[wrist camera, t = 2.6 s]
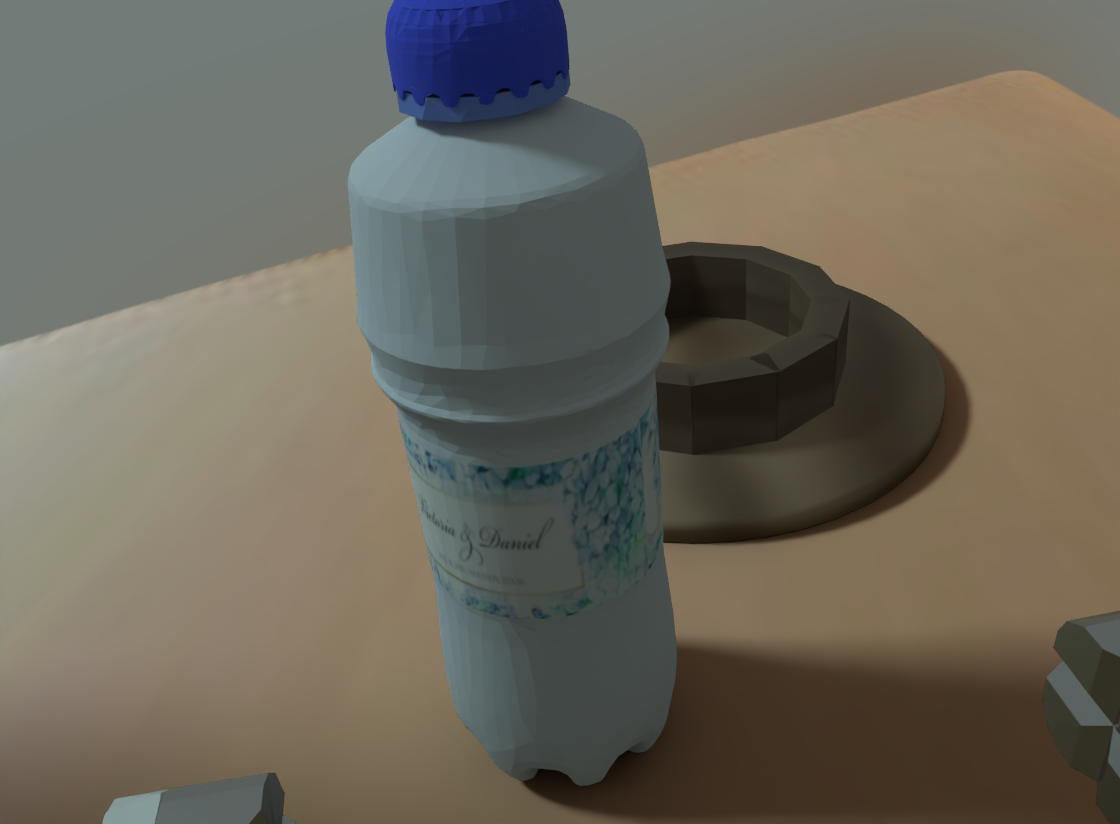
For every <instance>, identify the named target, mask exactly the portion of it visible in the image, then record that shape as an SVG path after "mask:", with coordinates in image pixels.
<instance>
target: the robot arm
mask: <svg viewBox="0 0 1120 824" xmlns="http://www.w3.org/2000/svg"><path fill="white" fill-rule="evenodd" d="M1053 648H1054V649H1055V651H1056V652H1057V653H1058V654H1059V656H1060V657H1061V658H1062V660H1063V661H1062V662H1061V663H1060V664H1059V665H1058V666H1057V667H1056V668H1055V669H1054V670H1053V671H1052V672H1051V673H1050V674H1049V675H1048V676H1047V677H1046V682H1045V687H1044V693H1043V699H1042V702H1043V707H1044V712H1045V718H1046V723H1047V727H1048V729H1049V731H1050V733H1051V735H1052V738H1053V740H1054V742H1055V744H1056V746H1057V748H1058V749H1059V751H1060V752H1061V754H1062V755H1063V757H1064V758H1065V760H1066V761H1067V763H1068V764H1069V766H1070V767H1072V768H1074V769H1075V770H1077V771H1079V772H1081V773H1082V774H1084V775H1086V776H1088V777H1089V778H1091V779H1093V780H1094V781H1096V782H1097V793H1096V805H1097V806H1098V807H1099V809H1100V810H1101V812H1102V813H1103V815H1104V816H1105V817H1106V819H1107V820H1108V822H1109V823H1110V824H1120V611H1115V612H1110V613H1105V614H1100V615H1095V616H1090V617H1085V618H1080V619H1075V620H1070V621H1067V622H1066V623H1065V624H1064V625H1063V626H1062V627H1061V628H1060V629H1059V630H1058V632H1057V636H1056V640H1055V644H1054V647H1053ZM284 794H285V793H284V791H283V789H282V787H281V785H280V782H279V780H278V778H277V776H276V773H265V774H259V775H253V776H247V777H241V778H234V779H228V780H222V781H216V782H210V783H203V784H197V785H191V786H185V787H179V788H172V789H168V790H162V791H156V792H150V793H145V794H139V795H133V796H128V797H122V798H116V799H115V800H114V801H113V803H112V805H111V806H110V808H109V809H108V811H107V813H106V814H105V816H104V819H103V823H102V824H296V822H295V821H293V820H292V819H290V818H288V817H286V816H284V815H283V806H284Z"/></svg>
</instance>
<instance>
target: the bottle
mask: <svg viewBox="0 0 1120 824" xmlns="http://www.w3.org/2000/svg"><path fill="white" fill-rule="evenodd" d="M385 34H386V46H387V47H386V48H387V54H388V60H389V65H390V71H391V77H392V82H393V87H394V91H396V90H397V96H398V104H399V111H400V112H401V113H404V114H407V115H409V116H410V117H409V118H408V119H406V120H405V121H403V122H402V123H400V124H399V125H397V126H396V127H395V128H393V129H392V130H391V131H389V132H388V133H386V134H385V135H383V136H382V137H381V138H379V139H378V140H377V141H375V142H374V143H372V144H371V145H370V146H368V147H367V148H365V149H364V150H363V152H362V153H361V154H360V155H359V156H358V158H357V159H356V160H355V161H354V162H353V164H352V166H351V170H350V173H349V177H348V192H349V203H350V215H351V225H352V226H351V227H352V238H353V250H354V262H355V275H356V289H357V322H358V325H359V327H360V330H361V332H362V333H363V335H364V337H365V339H366V341H367V343H368V344H369V346H370V349H371V351H372V355H371V369H372V372H373V376H374V379H375V381H376V382H377V384H378V385H379V387H380V388H381V390H382V391H383V392H384V393H385V394H386V396H387V397H388V398H389V399H390V400H391V401H392V402H393V403H394V404H395V405H396V407H397V411H398V417H399V422H400V426H401V431H402V435H403V440H404V445H405V449H406V454H407V458H408V463H409V468H410V472H411V477H412V481H413V486H414V491H415V495H416V500H417V504H418V509H419V514H420V518H421V523H422V527H423V532H424V537H425V541H426V546H427V550H428V555H429V559H430V563H431V567H432V571H433V576H434V581H435V586H436V595H437V604H438V614H439V623H440V632H441V641H442V648H443V655H444V661H445V668H446V674H447V679H448V682H449V686H450V690H451V693H452V697H453V700H454V704H455V708H456V710H457V713H458V715H459V717H460V718H461V720H462V722H463V723H464V725H465V726H466V728H467V729H468V730H470V731H471V732H472V733H473V734H474V736H475V737H476V738H477V739H478V740H479V742H480V743H481V744H482V745H483V747H484V748H485V750H486V751H487V753H488V754H489V755H490V757H491V758H492V760H493V761H494V763H495V764H496V765H497V766H498V767H499V768H500V769H501V770H503V771H504V772H505V773H507V774H508V775H509V776H511V777H513V778H516V779H518V780H522V781H525V780H528V779H531V778H533V777H534V776H535V774H536V773H537V771H538V769H549V770H558V771H560V772H562V773H564V774H566V775H568V776H569V777H570V778H571V779H572V781H573V782H574V783H576V784H577V785H579V786H585V785H591V784H594V783H597V782H600V781H601V780H602V779H603V778H604V777H605V776H606V774H607V772H608V770H609V768H610V767H611V766H612V764H613V763H614V762H615V760H616V759H617V757H618V756H619V755H621V754H622V753H624V752H625V751H627V750H630V751H632V752H636V753H640V752H644V751H646V750H648V749H649V748H650V747H652V746H653V745H654V743H655V742H656V740H657V739H658V737H659V736H660V734H661V732H662V730H663V728H664V725H665V723H666V720H667V716H668V712H669V707H670V703H671V698H672V693H673V688H674V684H675V679H676V665H677V648H676V637H675V626H674V616H673V608H672V602H671V595H670V589H669V582H668V576H667V569H666V563H665V556H664V549H663V514H662V494H661V474H660V453H659V433H658V412H657V392H656V379H655V371H656V370H657V368H658V366H659V364H660V362H661V360H662V358H663V356H664V354H665V352H666V349H667V345H668V342H669V325H668V322H667V319H666V317H665V309H666V304H667V300H668V295H669V291H670V282H671V280H670V274H669V270H668V266H667V263H666V259H665V255H664V252H663V248H662V242H661V237H660V231H659V226H658V220H657V215H656V209H655V203H654V198H653V192H652V187H651V181H650V176H649V170H648V165H647V159H646V153H645V149H644V144H643V142H642V140H641V138H640V136H639V134H638V132H637V130H635V129H634V128H633V127H632V126H631V125H630V124H628V123H627V122H626V121H625V120H623V119H621V118H619V117H617V116H615V115H612V114H609V113H607V112H604V111H602V110H599V109H597V108H594V107H591V106H589V105H587V104H584V103H582V102H579V101H576V100H574V99H571V98H569V97H566V96H564V95H566V94H567V92H568V89H569V86H570V77H569V54H568V42H567V30H566V24H565V19H564V13H563V10H562V7H561V5H560V2H559V0H394V2H393V4H392V6H391V8H390V10H389V12H388V16H387V23H386V33H385Z"/></svg>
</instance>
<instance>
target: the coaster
mask: <svg viewBox="0 0 1120 824" xmlns="http://www.w3.org/2000/svg"><path fill="white" fill-rule="evenodd" d="M662 248H663V252H664V255H665V259H666V263H667V266H668V270H669V274H670V280H671V282H670V291H669V295H668V300H667V304H666V309H665V317H666V319H667V322H668V325H669V342H668V345H667V349H666V352H665V354H664V356H663V358H662V360H661V362H660V364H659V366H658V368H657V370H656V371H655V379H656V392H657V412H658V433H659V453H660V474H661V494H662V514H663V542H683V543H705V542H727V541H739V540H746V539H754V538H761V537H769V536H774V535H778V534H783V533H787V532H792V531H796V530H801V529H805V528H808V527H812V526H815V525H818V524H821V523H824V522H827V521H830V520H833V519H836V518H839V517H841V516H843V515H845V514H848V513H850V512H852V511H854V510H856V509H859V508H861V507H863V506H865V505H867V504H869V503H871V502H873V501H874V500H876V499H877V498H879V497H881V496H882V495H884V494H886V493H887V492H889V491H890V490H892V489H894V488H895V487H896V486H897V485H898V484H899V483H901V482H902V481H903V480H904V479H905V478H907V477H908V476H909V475H910V474H911V473H913V472H914V470H915V469H916V468H917V467H918V466H919V464H920V463H921V462H922V461H923V460H924V459H925V457H926V456H927V455H928V453H929V452H930V450H931V448H932V446H933V444H934V442H935V440H936V439H937V437H938V433H939V429H940V426H941V422H942V418H943V410H944V403H945V376H944V372H943V369H942V365H941V362H940V360H939V358H938V356H937V354H936V352H935V351H934V349H933V347H932V345H931V344H930V343H929V342H928V341H927V339H926V338H925V337H924V336H923V335H922V333H921V332H920V331H919V330H918V329H917V328H915V327H914V326H913V325H912V324H911V323H910V322H909V321H907V320H906V319H905V318H904V317H902V316H901V315H899V314H898V313H896V312H895V311H893V310H892V309H890V308H889V307H887V306H885V305H883V304H881V303H879V302H878V301H876V300H874V299H872V298H870V297H868V296H866V295H863V294H861V293H858V292H856V291H853V290H851V289H848V288H846V287H843V286H840V285H837V284H835V283H834V282H833V281H832V280H831V279H830V277H829V276H828V275H827V274H826V273H825V272H824V271H823V270H822V269H821V268H820V266H817V265H814V264H811V263H808V262H805V261H802V260H799V259H796V258H794V257H791V256H788V255H785V254H782V253H779V252H776V251H773V250H770V249H767V248H765V247H762V246H747V245H732V244H717V243H701V242H687V243H680V244H674V245H667V246H662Z"/></svg>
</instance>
